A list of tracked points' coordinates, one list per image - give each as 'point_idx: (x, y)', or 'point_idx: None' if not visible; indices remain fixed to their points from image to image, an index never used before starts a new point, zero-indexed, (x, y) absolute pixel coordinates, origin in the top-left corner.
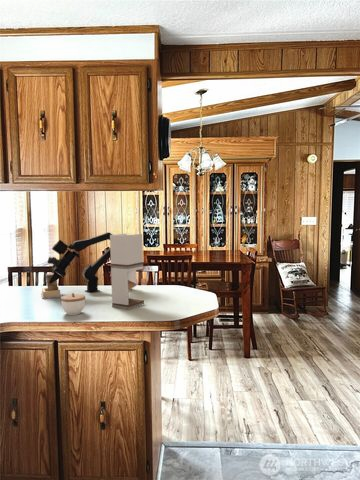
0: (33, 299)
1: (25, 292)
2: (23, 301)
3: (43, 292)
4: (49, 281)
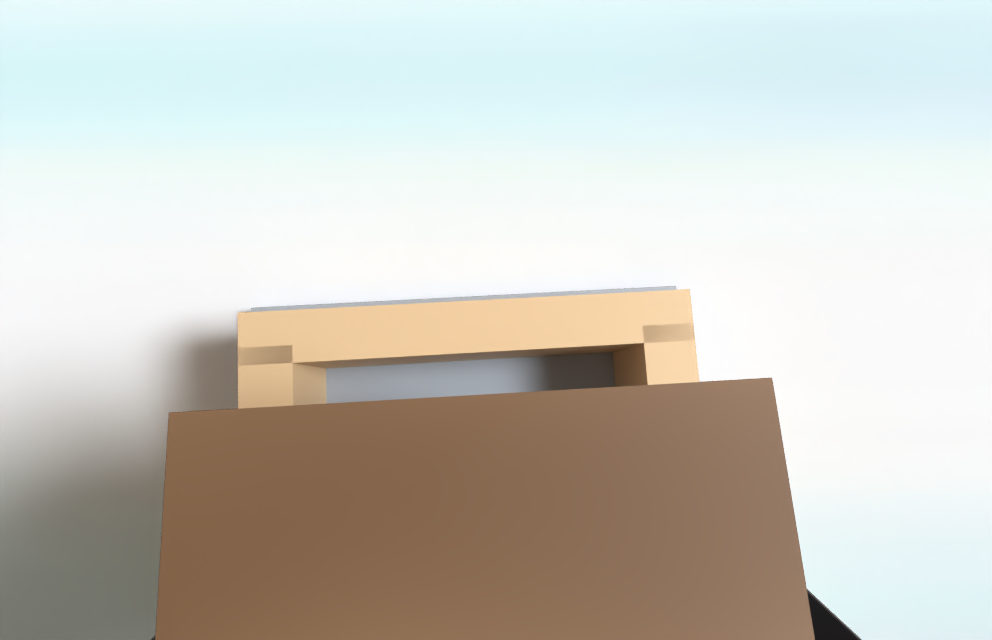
0: (285, 163)
1: (965, 30)
2: (204, 11)
3: (243, 322)
4: None
